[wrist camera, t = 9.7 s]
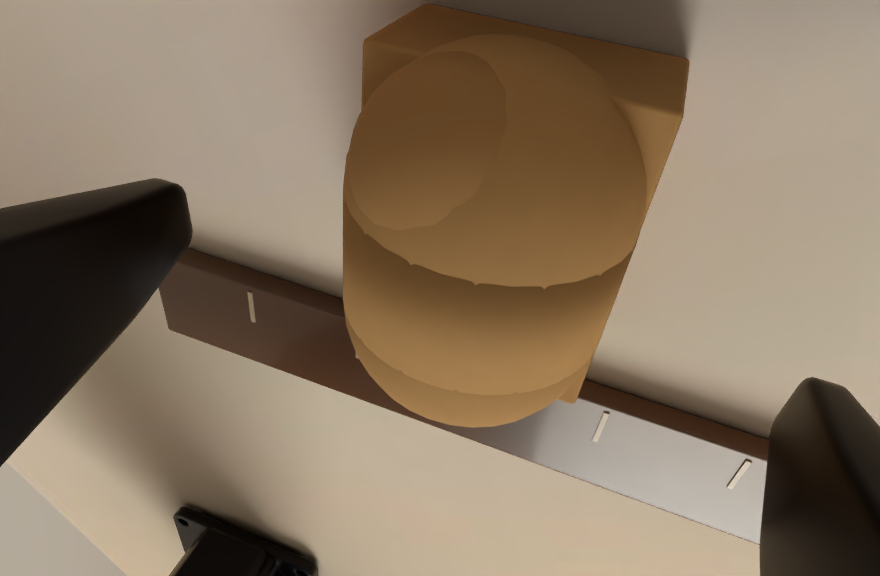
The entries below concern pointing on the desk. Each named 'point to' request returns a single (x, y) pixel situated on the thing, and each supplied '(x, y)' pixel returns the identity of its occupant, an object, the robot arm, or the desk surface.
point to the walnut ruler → (532, 438)
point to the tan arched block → (496, 206)
